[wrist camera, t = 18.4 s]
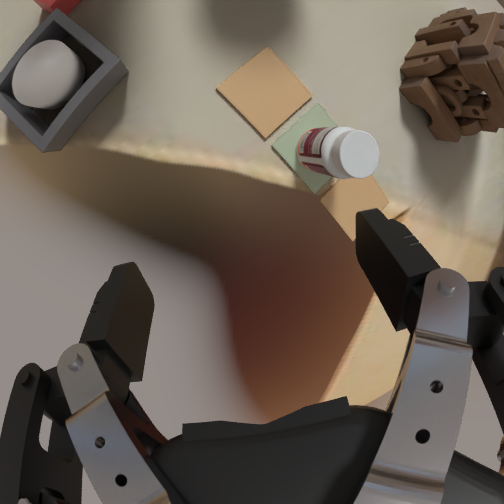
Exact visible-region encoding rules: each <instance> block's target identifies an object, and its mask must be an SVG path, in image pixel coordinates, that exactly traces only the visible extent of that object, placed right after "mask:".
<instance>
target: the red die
mask: <svg viewBox="0 0 504 504" xmlns="http://www.w3.org/2000/svg"><path fill="white" fill-rule="evenodd" d="M34 1H35V2H36V3H37V4H38V5H39V6H40V7H41V8H42V9H44V10H46V11H48V12H49V13H52V12H53V11H54V10H55V9H56V8H58V9H59V10H60V11H61V12H63V13H64V14H65V15H68V14H69V12H70V11H71V10H72V9H73V8H74V7H75V6H76V5H77V4H78V3H79V2H80V1H81V0H34Z"/></svg>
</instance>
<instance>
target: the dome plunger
mask: <svg viewBox="0 0 504 504" xmlns="http://www.w3.org/2000/svg"><path fill="white" fill-rule="evenodd" d="M84 75H85V68H84V64H83V61H82V60H81V58H80V57H79V56H78V55H77V54H76V53H75V52H73V51H72V50H71V49H70V48H69V47H67V46H66V45H65V44H64V43H62V42H60V41H58V40H46V41H43V42H40V43H38V44H36V45H35V46H33V47H32V48H30V49H29V50H28V51H27V52H26V53H25V54H24V55H23V57H22V58H21V59H20V61H19V62H18V64H17V66H16V68H15V71H14V74H13V79H12V89H13V93H14V96H15V98H16V99H17V100H18V101H19V102H20V103H21V104H23V105H26V106H31V107H36V108H41V109H46V110H54V109H58V108H60V107H63V106H64V105H66V104H67V103H68V102H69V101H70V99H71V98H72V97H73V96H74V95H75V94H76V92H77V91H78V90H79V89H80V88H81V86H82V83H83V80H84Z"/></svg>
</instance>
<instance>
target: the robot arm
mask: <svg viewBox="0 0 504 504" xmlns="http://www.w3.org/2000/svg"><path fill="white" fill-rule="evenodd" d="M356 255H357V259H358V262H359V264H360V266H361V268H362V269H363V271H364V273H365V275H366V276H367V278H368V280H369V282H370V284H371V285H372V287H373V289H374V291H375V293H376V294H377V296H378V298H379V300H380V302H381V304H382V305H383V307H384V309H385V311H386V313H387V315H388V317H389V319H390V321H391V323H392V325H393V326H394V328H395V330H396V332H397V331H400V330H403V329H406V328H407V329H408V331H409V333H410V336H409V339H408V343H407V347H406V350H405V354H404V358H403V361H402V364H401V368H400V371H399V374H398V377H397V380H396V383H395V386H394V389H393V392H392V394H391V397H390V399H389V402H388V404H387V407H386V410H385V411H384V410H381V409H378V408H375V407H368V406H359V405H351V406H349V403H348V399H347V396H345V397H341V398H337V399H334V400H330V401H326V402H322V403H318V404H314V405H310V406H306V407H303V408H301V409H299V410H297V411H295V412H293V413H291V414H288V415H286V416H284V417H281V418H279V419H277V420H274V421H272V422H270V423H267V424H260V425H259V424H246V423H237V422H228V421H212V422H202V423H187V424H183V428H182V434H181V435H178V436H176V437H174V438H172V439H170V440H167V439H166V438H165V437H164V436H163V435H162V434H161V433H160V432H159V431H158V430H157V428H156V427H155V426H154V424H153V423H152V421H151V420H150V419H149V417H148V416H147V414H146V413H145V411H144V410H143V408H142V407H141V405H140V404H139V402H138V401H137V399H136V398H135V396H134V395H133V393H132V392H131V391H130V390H129V385H130V382H138V381H142V377H143V371H144V364H145V357H146V351H147V345H148V339H149V334H150V327H151V322H152V317H153V312H154V299H153V295H152V292H151V290H150V288H149V287H148V285H147V283H146V282H145V279H144V278H143V276H142V274H141V272H140V270H139V268H138V267H137V265H136V264H135V263H134V262H129V263H125V264H121V265H117V266H114V267H113V269H112V272H111V274H110V277H109V279H108V281H107V282H105V283H104V285H103V286H102V287H101V288H100V290H99V291H98V292H97V295H96V297H95V300H94V305H92V308H91V310H90V314H89V316H88V318H87V321H86V324H85V327H84V329H83V333H82V335H81V338H80V341H79V344H75V345H72V346H70V347H69V348H68V349H66V350H65V351H64V352H63V354H62V355H61V357H60V359H59V361H58V364H57V366H56V367H54V368H51V369H49V370H46V371H43V370H42V369H41V368H40V367H39V366H38V365H37V364H35V363H29V364H27V365H26V366H24V367H23V368H22V369H21V370H20V371H19V373H18V374H17V376H16V379H15V382H14V385H13V389H12V392H11V395H10V399H9V402H8V406H7V410H6V414H5V418H4V423H3V427H2V432H1V437H0V504H81V496H82V495H81V494H82V470H83V469H82V468H83V467H84V469H85V471H86V473H87V475H88V477H89V479H90V481H91V483H92V485H93V487H94V489H95V491H96V492H97V494H98V496H99V498H100V500H101V501H102V503H103V504H504V436H503V437H502V440H501V444H500V449H499V451H498V454H497V457H498V460H499V461H500V462H501V465H500V470H499V472H496V471H494V470H492V469H490V468H488V467H486V466H484V465H482V464H480V463H478V462H476V461H474V460H472V459H470V458H469V457H467V456H465V455H463V454H461V453H459V452H457V451H455V450H454V448H455V445H456V441H457V437H458V434H459V429H460V425H461V421H462V416H463V412H464V407H465V402H466V397H467V391H468V385H469V378H470V371H471V363H472V359H473V361H474V363H475V366H476V368H477V370H478V372H479V374H480V376H481V379H482V381H483V383H484V385H485V387H486V390H487V392H488V394H489V397H490V399H491V402H492V404H493V407H494V409H495V411H496V415H497V417H498V420H499V423H500V425H501V428H502V431H503V434H504V335H503V333H504V267H497V268H495V269H493V270H492V271H491V273H490V275H489V278H488V281H477V282H467V280H466V279H465V278H464V277H463V276H462V275H461V274H460V273H458V272H456V271H454V270H451V269H447V268H441V267H440V266H439V265H438V263H437V262H436V261H435V260H434V259H433V257H432V256H431V255H430V254H429V253H428V251H427V250H426V249H425V248H424V247H423V245H422V244H421V243H419V241H418V240H417V239H416V237H415V236H413V235H412V233H411V232H410V231H409V229H408V228H407V227H406V226H405V225H403V224H402V223H400V222H398V221H396V220H394V219H389V220H388V219H387V218H386V217H385V215H384V214H383V213H382V212H381V211H380V210H379V209H378V208H373V209H368V210H363V211H359V212H357V213H356ZM43 414H44V415H45V416H46V417H48V418H49V419H51V420H52V427H51V433H50V440H49V447H48V452H47V451H45V450H44V449H43V448H42V447H41V445H40V443H39V433H40V427H41V422H42V416H43Z"/></svg>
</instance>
